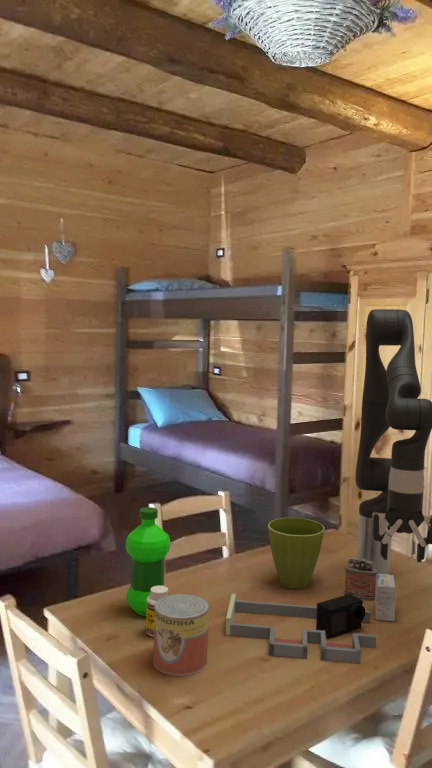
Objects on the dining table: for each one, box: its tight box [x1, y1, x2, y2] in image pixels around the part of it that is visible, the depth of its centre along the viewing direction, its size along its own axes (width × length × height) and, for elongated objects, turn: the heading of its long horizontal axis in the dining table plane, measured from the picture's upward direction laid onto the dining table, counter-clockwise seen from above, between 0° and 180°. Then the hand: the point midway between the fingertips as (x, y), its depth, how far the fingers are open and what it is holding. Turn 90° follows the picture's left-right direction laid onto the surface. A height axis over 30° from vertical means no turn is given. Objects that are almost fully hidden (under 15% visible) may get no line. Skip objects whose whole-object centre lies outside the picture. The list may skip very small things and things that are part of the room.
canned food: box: [152, 593, 210, 677], centre depth 134 cm, size 11×11×12 cm
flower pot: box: [267, 517, 325, 590], centre depth 175 cm, size 15×15×16 cm
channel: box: [225, 593, 377, 664], centre depth 147 cm, size 20×33×4 cm, turn 83°
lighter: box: [343, 557, 377, 602], centre depth 168 cm, size 8×3×10 cm, turn 71°
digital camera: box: [315, 594, 366, 640], centre depth 149 cm, size 10×5×7 cm, turn 123°
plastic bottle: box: [125, 506, 171, 617], centre depth 156 cm, size 10×10×25 cm
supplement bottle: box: [145, 585, 169, 638], centre depth 146 cm, size 6×6×10 cm
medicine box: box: [374, 574, 397, 622], centre depth 159 cm, size 8×4×9 cm, turn 168°
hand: (401, 559), depth 146 cm, fingers open, 7 cm apart
